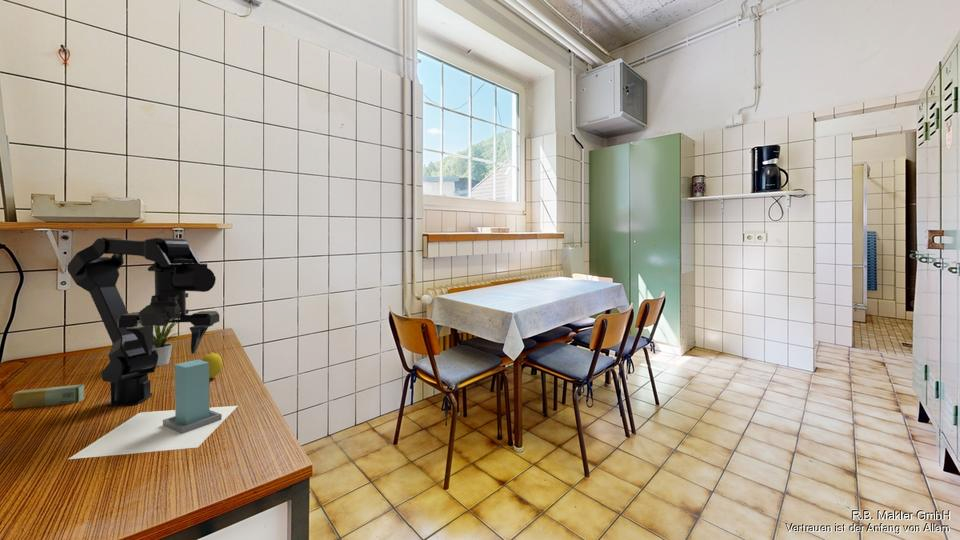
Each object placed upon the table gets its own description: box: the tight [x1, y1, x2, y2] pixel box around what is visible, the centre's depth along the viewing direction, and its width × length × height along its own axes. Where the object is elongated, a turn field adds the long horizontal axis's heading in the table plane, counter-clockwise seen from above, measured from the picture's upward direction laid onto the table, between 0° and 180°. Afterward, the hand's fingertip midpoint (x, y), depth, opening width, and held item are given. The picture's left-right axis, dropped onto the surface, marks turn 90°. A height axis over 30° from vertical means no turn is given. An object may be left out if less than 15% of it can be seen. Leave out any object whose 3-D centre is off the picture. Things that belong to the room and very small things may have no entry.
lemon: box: [201, 351, 224, 379], centre depth 112 cm, size 6×6×8 cm
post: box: [174, 359, 210, 426], centre depth 81 cm, size 4×4×13 cm
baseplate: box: [67, 405, 238, 460], centre depth 79 cm, size 20×20×1 cm
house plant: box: [153, 323, 181, 367], centre depth 126 cm, size 14×14×16 cm
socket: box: [163, 410, 222, 434], centre depth 81 cm, size 8×8×1 cm
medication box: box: [12, 384, 85, 410], centre depth 92 cm, size 12×3×4 cm, turn 112°
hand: (171, 354), depth 91 cm, fingers open, 9 cm apart
